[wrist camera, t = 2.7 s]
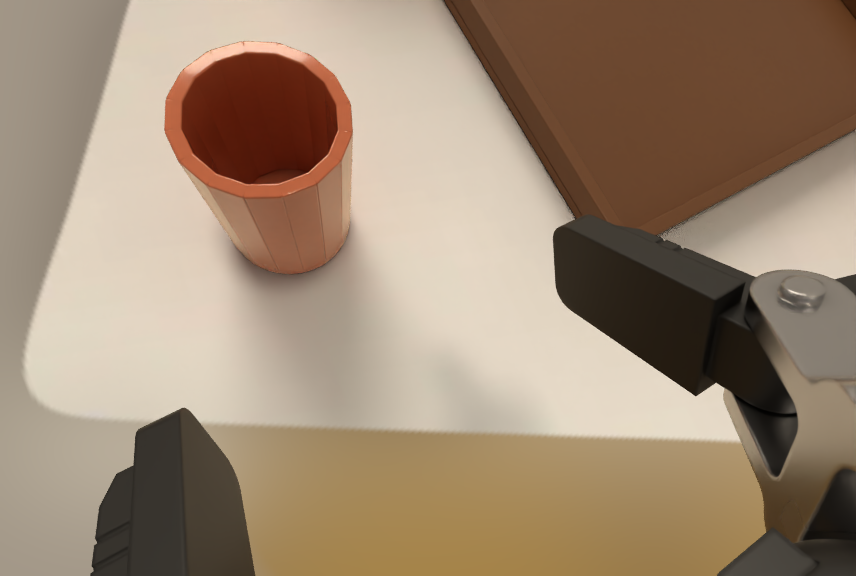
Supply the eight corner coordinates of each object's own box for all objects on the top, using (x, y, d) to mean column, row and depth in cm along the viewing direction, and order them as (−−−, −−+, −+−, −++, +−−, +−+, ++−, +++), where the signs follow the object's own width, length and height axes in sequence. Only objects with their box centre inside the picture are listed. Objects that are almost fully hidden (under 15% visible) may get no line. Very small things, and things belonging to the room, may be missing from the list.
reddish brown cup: (259, 294, 22) (208, 226, 14) (210, 191, 23) (135, 70, 14) (368, 245, 23) (381, 159, 15) (319, 151, 24) (306, 21, 16)
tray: (603, 263, 25) (625, 251, 23) (429, -23, 28) (436, -55, 26) (911, 99, 33) (947, 79, 31) (750, -111, 36) (774, -141, 34)
